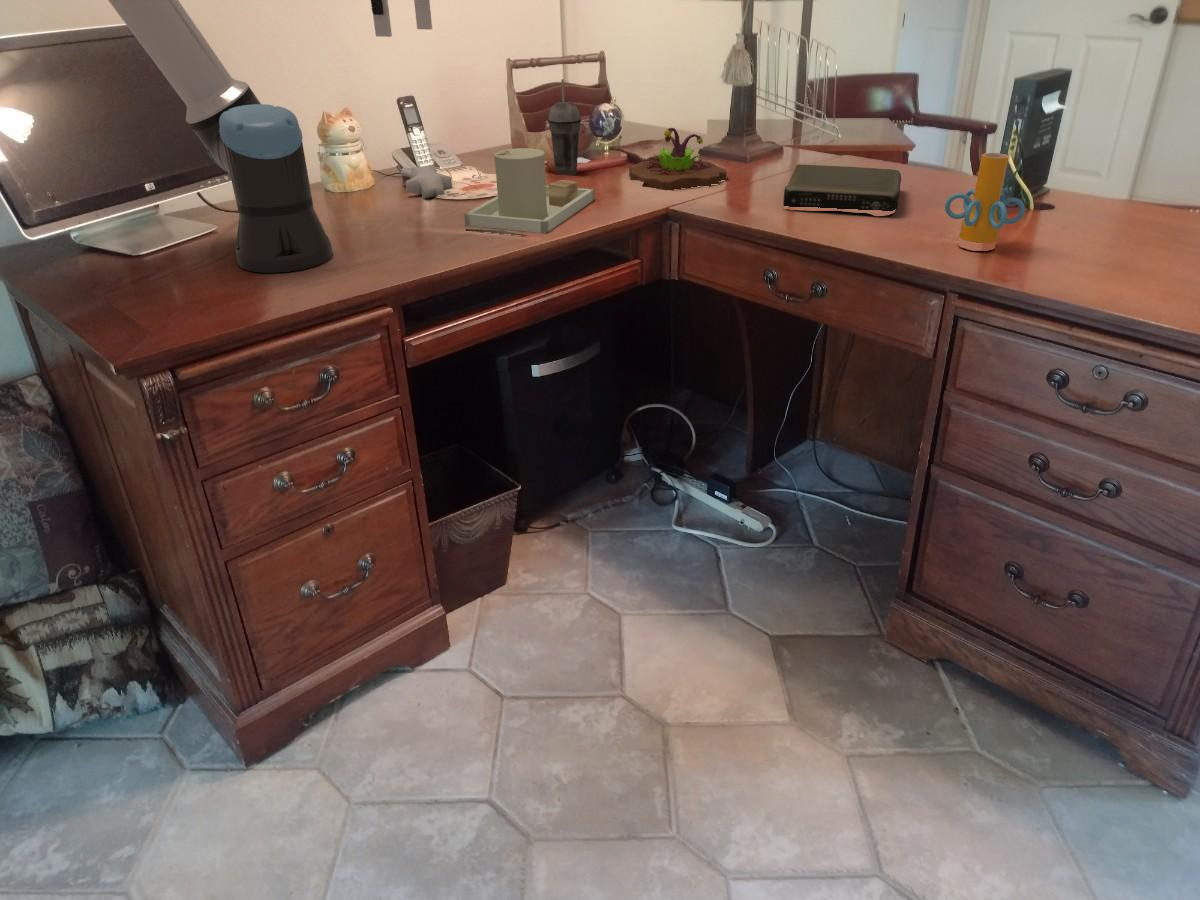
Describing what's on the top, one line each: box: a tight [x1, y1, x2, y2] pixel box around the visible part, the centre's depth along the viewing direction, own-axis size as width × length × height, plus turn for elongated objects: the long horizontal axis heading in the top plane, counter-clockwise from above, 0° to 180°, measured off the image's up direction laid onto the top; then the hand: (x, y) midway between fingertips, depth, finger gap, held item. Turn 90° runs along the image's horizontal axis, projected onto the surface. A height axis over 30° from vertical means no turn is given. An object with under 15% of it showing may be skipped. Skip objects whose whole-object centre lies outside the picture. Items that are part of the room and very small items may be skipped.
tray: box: [463, 185, 595, 237], centre depth 166 cm, size 24×16×3 cm, turn 160°
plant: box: [628, 127, 728, 191], centre depth 189 cm, size 20×20×11 cm
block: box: [547, 179, 579, 207], centre depth 170 cm, size 4×4×4 cm
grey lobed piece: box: [399, 164, 453, 199], centre depth 183 cm, size 10×5×15 cm
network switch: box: [783, 164, 902, 211], centre depth 173 cm, size 23×24×5 cm
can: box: [493, 147, 548, 220], centre depth 160 cm, size 9×9×12 cm
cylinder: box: [944, 152, 1026, 243], centre depth 144 cm, size 12×10×15 cm
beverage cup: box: [547, 78, 582, 177], centre depth 191 cm, size 7×7×20 cm
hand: (405, 33), depth 154 cm, fingers open, 13 cm apart
